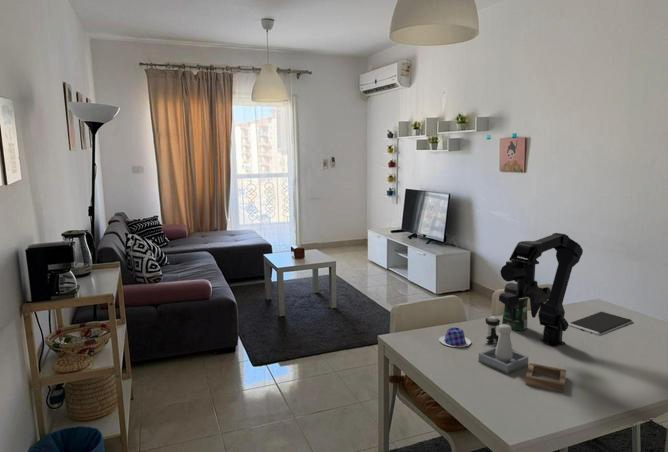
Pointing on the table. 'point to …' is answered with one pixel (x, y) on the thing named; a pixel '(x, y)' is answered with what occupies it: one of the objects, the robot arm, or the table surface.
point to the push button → (492, 329)
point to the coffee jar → (521, 311)
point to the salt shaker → (504, 344)
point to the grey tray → (491, 360)
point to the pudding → (455, 338)
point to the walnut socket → (546, 382)
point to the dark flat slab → (600, 323)
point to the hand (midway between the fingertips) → (523, 319)
